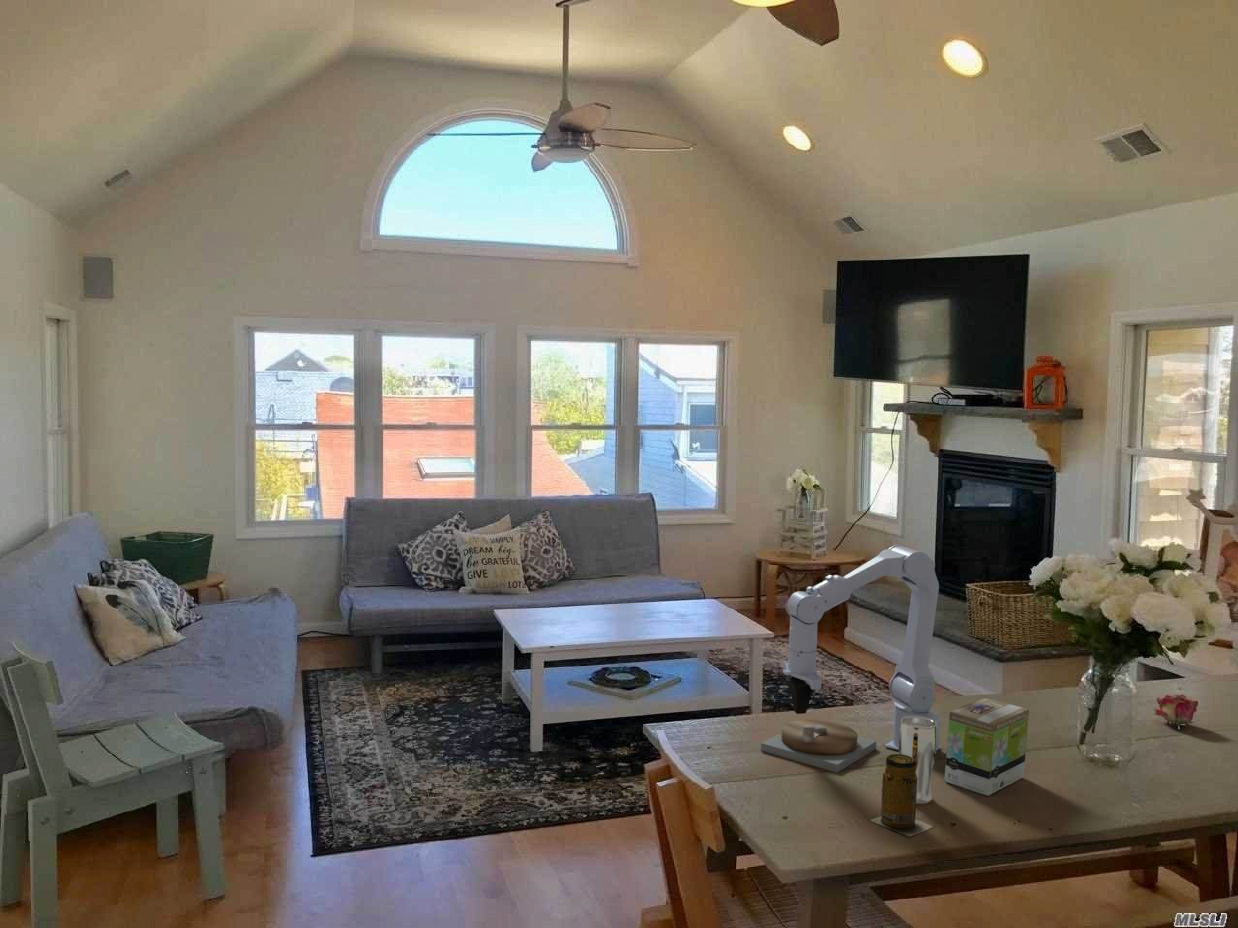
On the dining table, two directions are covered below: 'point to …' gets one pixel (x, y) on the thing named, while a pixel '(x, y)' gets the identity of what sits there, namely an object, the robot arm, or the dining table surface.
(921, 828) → the condiment
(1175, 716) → the flower
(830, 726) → the handwheel
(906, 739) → the beer glass
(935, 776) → the dining table surface
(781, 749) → the base plate
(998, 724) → the tea box
